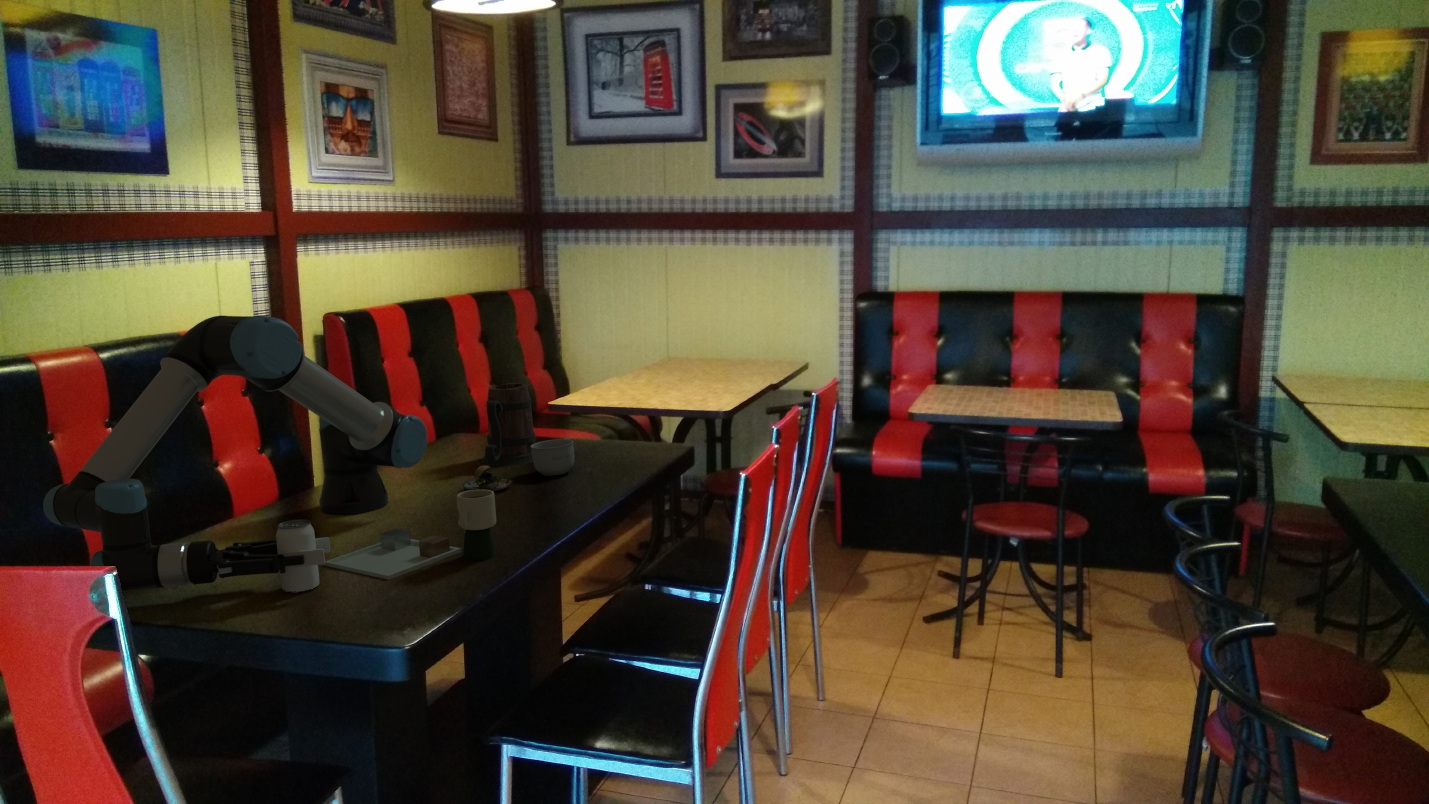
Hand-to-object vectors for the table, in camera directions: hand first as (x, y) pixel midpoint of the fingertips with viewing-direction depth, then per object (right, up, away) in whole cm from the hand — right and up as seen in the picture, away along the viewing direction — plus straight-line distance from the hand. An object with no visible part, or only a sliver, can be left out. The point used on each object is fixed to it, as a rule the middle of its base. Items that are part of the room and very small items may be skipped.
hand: (326, 550), depth 200 cm
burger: (+15, +5, +67) cm, 69 cm away
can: (-5, -7, 0) cm, 8 cm away
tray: (+8, -4, +13) cm, 16 cm away
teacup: (+30, +9, +82) cm, 88 cm away
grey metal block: (+7, -2, +20) cm, 21 cm away
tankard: (+15, +11, +97) cm, 98 cm away
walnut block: (+16, -3, +14) cm, 22 cm away
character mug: (+25, -4, +13) cm, 28 cm away
